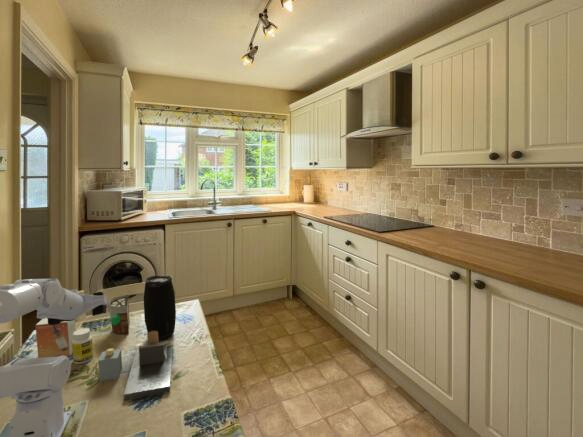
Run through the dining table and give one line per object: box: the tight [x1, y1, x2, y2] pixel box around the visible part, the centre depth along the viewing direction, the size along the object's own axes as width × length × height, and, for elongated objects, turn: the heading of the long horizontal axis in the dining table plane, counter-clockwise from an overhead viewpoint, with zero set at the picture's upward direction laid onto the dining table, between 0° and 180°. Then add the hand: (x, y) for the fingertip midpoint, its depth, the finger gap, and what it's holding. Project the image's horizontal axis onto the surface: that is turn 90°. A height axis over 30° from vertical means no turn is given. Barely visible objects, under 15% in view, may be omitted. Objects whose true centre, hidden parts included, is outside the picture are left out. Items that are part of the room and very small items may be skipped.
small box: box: [35, 318, 77, 358], centre depth 94 cm, size 8×6×10 cm
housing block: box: [97, 348, 123, 382], centre depth 84 cm, size 4×4×7 cm
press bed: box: [123, 343, 174, 401], centre depth 85 cm, size 20×10×3 cm, turn 18°
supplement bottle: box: [72, 328, 94, 365], centre depth 90 cm, size 5×5×8 cm
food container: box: [106, 294, 131, 336], centre depth 108 cm, size 12×6×10 cm, turn 25°
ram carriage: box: [138, 331, 165, 365], centre depth 89 cm, size 7×6×6 cm
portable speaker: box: [143, 274, 177, 342], centre depth 103 cm, size 9×9×20 cm
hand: (89, 312), depth 84 cm, fingers open, 7 cm apart
